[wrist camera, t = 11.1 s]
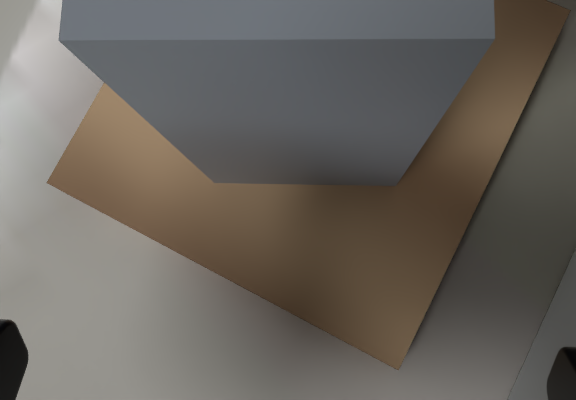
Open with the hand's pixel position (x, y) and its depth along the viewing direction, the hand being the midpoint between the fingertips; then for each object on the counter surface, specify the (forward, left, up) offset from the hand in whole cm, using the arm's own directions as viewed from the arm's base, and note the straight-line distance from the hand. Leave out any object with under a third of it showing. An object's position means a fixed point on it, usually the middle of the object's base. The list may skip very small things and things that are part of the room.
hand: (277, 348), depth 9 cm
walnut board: (+6, +3, -6) cm, 9 cm away
